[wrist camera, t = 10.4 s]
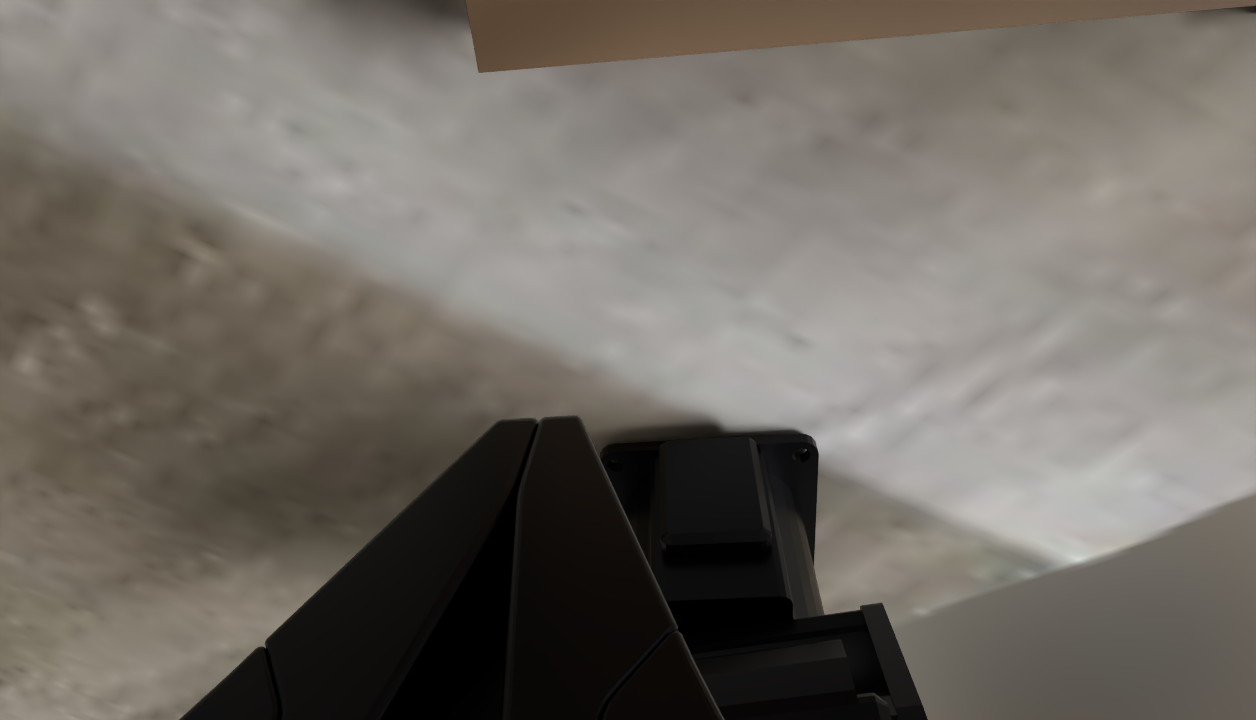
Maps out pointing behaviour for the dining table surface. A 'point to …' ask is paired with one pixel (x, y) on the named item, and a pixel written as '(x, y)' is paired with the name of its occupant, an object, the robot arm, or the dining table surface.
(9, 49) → the dining table surface
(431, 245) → the dining table surface
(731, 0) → the slot block
